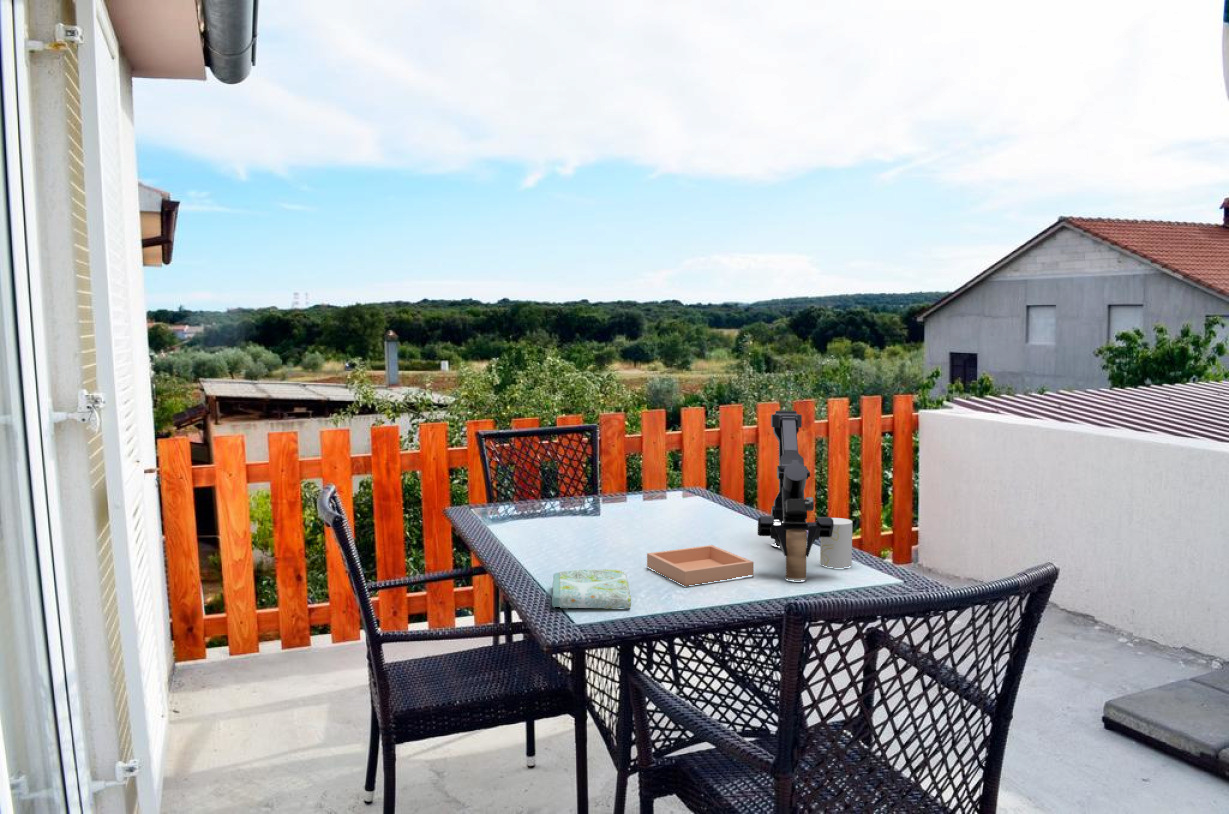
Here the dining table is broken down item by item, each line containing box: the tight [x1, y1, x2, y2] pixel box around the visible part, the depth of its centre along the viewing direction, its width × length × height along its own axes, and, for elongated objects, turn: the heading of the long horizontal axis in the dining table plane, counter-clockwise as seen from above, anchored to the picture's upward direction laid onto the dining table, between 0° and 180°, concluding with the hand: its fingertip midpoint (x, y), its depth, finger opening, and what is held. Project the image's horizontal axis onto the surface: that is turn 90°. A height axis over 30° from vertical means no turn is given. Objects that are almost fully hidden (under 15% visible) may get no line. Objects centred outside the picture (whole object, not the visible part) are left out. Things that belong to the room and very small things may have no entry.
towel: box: [551, 568, 632, 609], centre depth 221 cm, size 18×21×5 cm
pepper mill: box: [785, 529, 808, 581], centre depth 234 cm, size 5×5×12 cm
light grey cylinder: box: [819, 517, 853, 568], centre depth 248 cm, size 8×8×12 cm
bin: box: [646, 544, 755, 586], centre depth 242 cm, size 20×20×4 cm
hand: (796, 555), depth 233 cm, fingers closed on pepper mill, 5 cm apart
